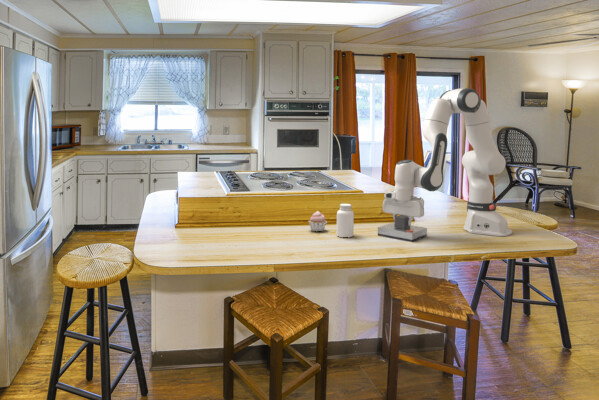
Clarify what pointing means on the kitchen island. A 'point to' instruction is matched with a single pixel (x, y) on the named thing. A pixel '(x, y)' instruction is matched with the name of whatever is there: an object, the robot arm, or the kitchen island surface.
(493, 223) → the robot arm
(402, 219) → the plug
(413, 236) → the socket
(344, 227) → the pill bottle
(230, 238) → the kitchen island surface
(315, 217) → the cupcake
